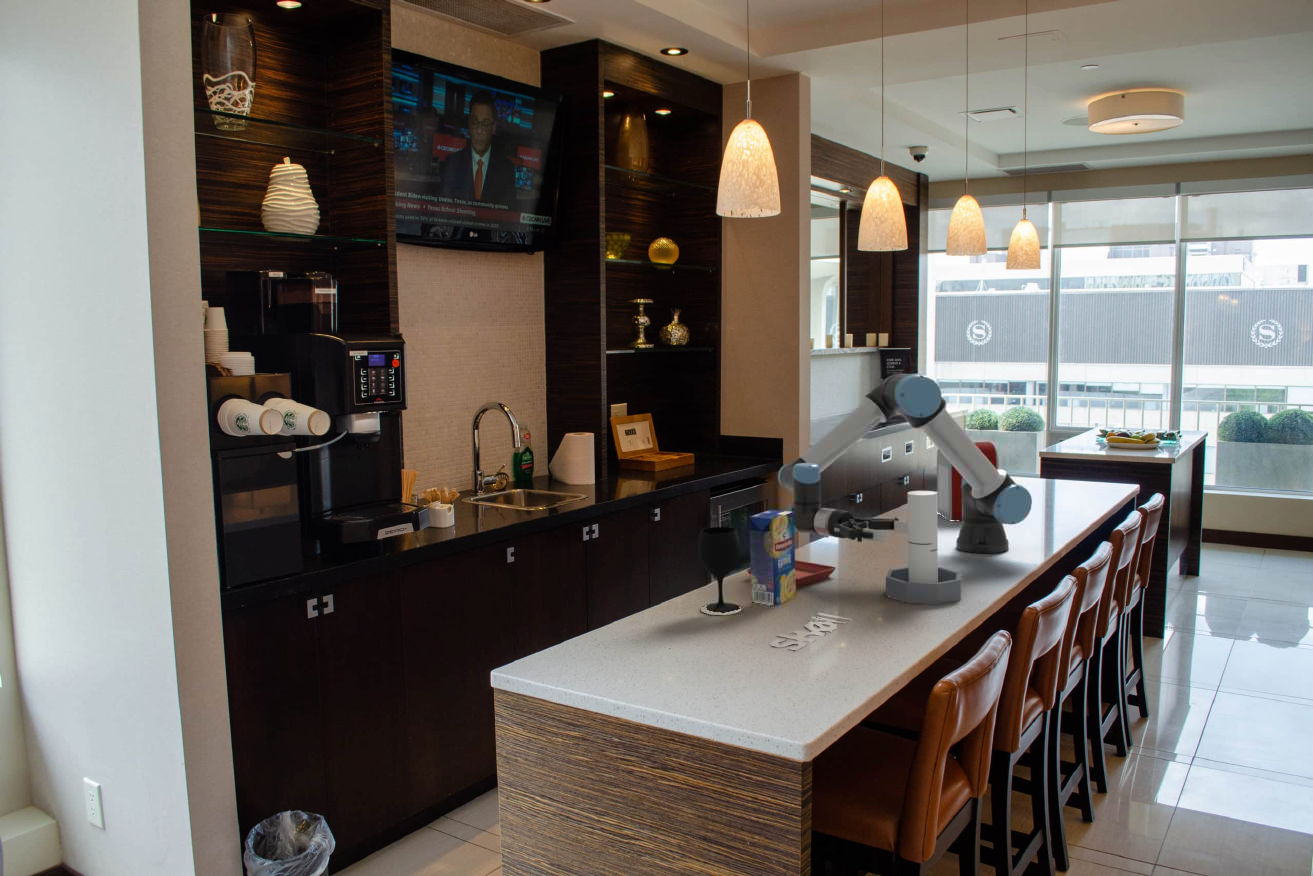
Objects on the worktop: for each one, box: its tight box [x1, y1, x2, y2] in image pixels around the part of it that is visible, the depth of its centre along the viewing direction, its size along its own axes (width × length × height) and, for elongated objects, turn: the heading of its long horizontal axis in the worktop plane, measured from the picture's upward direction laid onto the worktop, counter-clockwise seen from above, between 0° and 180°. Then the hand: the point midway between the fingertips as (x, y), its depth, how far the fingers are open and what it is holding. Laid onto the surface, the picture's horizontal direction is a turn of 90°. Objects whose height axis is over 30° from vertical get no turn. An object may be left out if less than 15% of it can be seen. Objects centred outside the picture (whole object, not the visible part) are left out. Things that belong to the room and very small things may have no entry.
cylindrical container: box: [907, 490, 939, 583], centre depth 245 cm, size 7×7×25 cm
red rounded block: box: [936, 440, 1000, 521], centre depth 346 cm, size 16×18×27 cm
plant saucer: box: [746, 559, 837, 588], centre depth 268 cm, size 18×18×3 cm
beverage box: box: [748, 509, 797, 606], centre depth 245 cm, size 7×11×22 cm, turn 144°
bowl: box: [885, 566, 962, 605], centre depth 246 cm, size 18×18×5 cm
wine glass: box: [697, 526, 741, 613], centre depth 238 cm, size 10×10×20 cm
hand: (900, 532), depth 249 cm, fingers open, 13 cm apart
